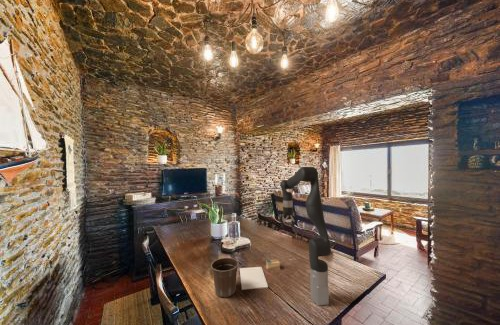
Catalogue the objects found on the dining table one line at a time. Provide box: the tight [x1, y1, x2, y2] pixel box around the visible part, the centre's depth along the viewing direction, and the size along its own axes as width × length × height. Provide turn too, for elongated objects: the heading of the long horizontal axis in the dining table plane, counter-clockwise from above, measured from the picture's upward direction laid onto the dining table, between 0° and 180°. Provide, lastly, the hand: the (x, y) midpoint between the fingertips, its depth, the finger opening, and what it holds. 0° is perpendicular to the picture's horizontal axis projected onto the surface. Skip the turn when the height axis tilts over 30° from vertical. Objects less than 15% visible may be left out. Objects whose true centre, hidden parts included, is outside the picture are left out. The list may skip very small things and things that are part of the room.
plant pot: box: [210, 257, 239, 298], centre depth 116 cm, size 16×16×16 cm
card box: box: [265, 258, 281, 271], centre depth 142 cm, size 5×9×5 cm, turn 97°
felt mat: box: [239, 266, 269, 291], centre depth 130 cm, size 24×16×1 cm, turn 6°
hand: (288, 227), depth 151 cm, fingers open, 8 cm apart
